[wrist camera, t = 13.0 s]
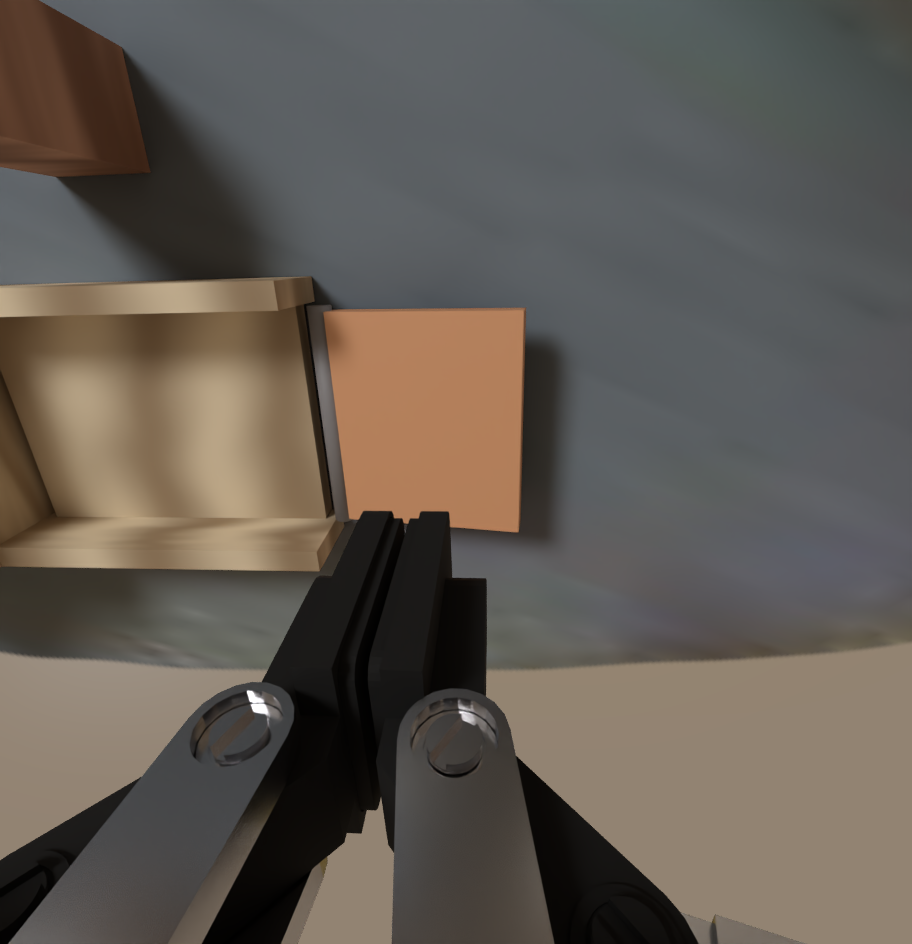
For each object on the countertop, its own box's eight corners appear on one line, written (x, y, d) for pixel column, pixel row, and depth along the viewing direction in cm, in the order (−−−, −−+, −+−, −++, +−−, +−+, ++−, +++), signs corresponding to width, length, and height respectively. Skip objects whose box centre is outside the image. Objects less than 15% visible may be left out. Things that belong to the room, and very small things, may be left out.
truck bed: (311, 276, 21) (232, 285, 15) (344, 526, 26) (295, 615, 19) (-145, 288, 23) (-397, 302, 16) (-35, 523, 27) (-197, 605, 21)
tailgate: (313, 304, 21) (526, 302, 19) (340, 511, 25) (520, 525, 23) (301, 306, 20) (524, 304, 18) (332, 521, 24) (518, 536, 22)
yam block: (121, 47, 18) (-76, -64, 12) (150, 172, 20) (-11, 133, 14) (19, 53, 19) (-227, -53, 12) (56, 176, 20) (-146, 140, 14)
